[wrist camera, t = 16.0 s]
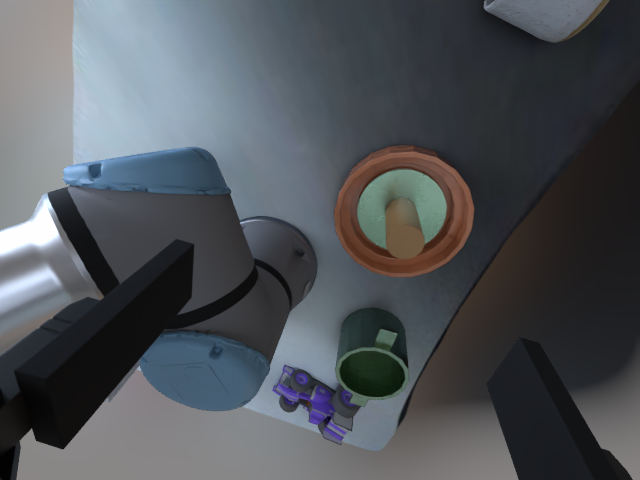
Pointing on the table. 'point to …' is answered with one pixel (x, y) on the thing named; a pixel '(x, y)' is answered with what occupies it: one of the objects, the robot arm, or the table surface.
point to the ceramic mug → (547, 16)
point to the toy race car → (318, 403)
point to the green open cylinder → (372, 356)
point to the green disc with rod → (402, 211)
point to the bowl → (434, 250)
